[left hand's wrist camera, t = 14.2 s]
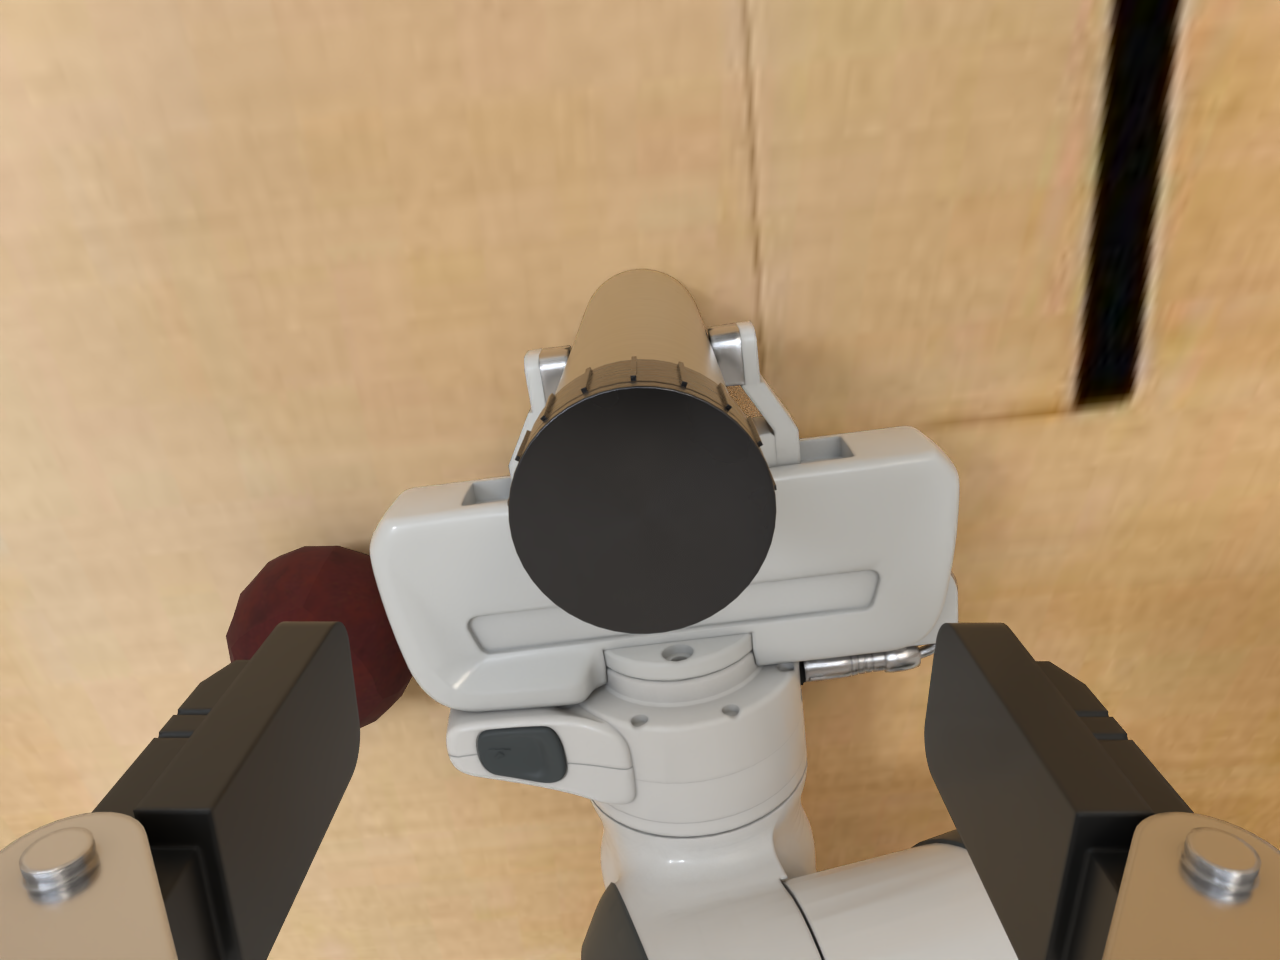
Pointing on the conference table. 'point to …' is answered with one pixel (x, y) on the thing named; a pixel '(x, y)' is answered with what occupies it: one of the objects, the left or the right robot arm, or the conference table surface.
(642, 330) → the beige cylinder
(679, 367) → the lid
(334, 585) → the dark red plum
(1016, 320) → the conference table surface
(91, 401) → the conference table surface
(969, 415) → the conference table surface
